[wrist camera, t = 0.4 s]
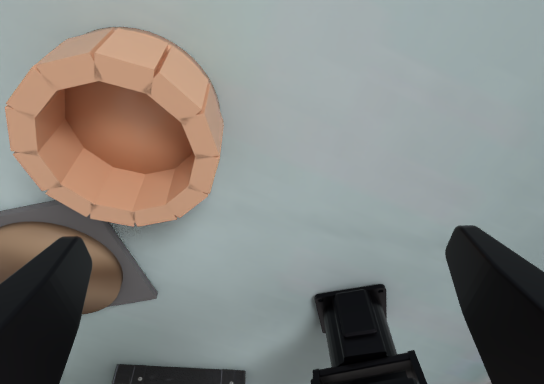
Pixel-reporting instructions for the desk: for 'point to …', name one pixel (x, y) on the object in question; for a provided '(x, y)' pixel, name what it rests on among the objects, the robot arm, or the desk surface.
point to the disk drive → (175, 375)
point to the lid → (39, 235)
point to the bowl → (118, 127)
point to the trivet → (57, 213)
